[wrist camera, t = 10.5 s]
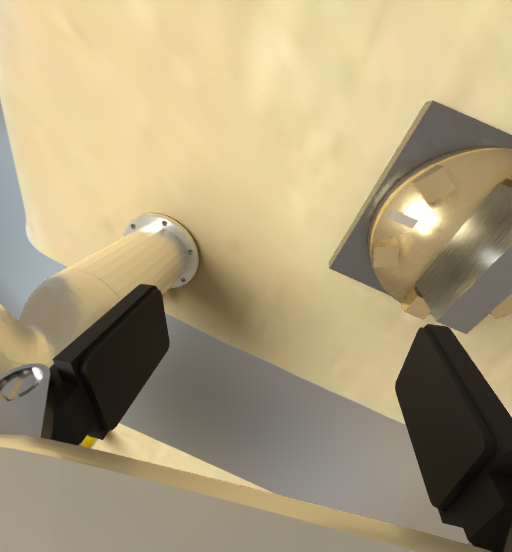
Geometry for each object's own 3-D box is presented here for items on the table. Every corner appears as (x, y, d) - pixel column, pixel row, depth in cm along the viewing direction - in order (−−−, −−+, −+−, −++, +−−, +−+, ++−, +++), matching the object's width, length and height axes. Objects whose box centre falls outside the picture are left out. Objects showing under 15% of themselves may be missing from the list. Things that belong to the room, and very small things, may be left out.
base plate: (459, 319, 37) (465, 329, 35) (329, 261, 37) (329, 268, 35) (608, 182, 26) (627, 186, 25) (425, 102, 27) (432, 100, 25)
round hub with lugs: (609, 189, 25) (755, 221, 17) (467, 321, 34) (514, 384, 26) (432, 117, 25) (487, 111, 17) (340, 267, 35) (346, 312, 26)
